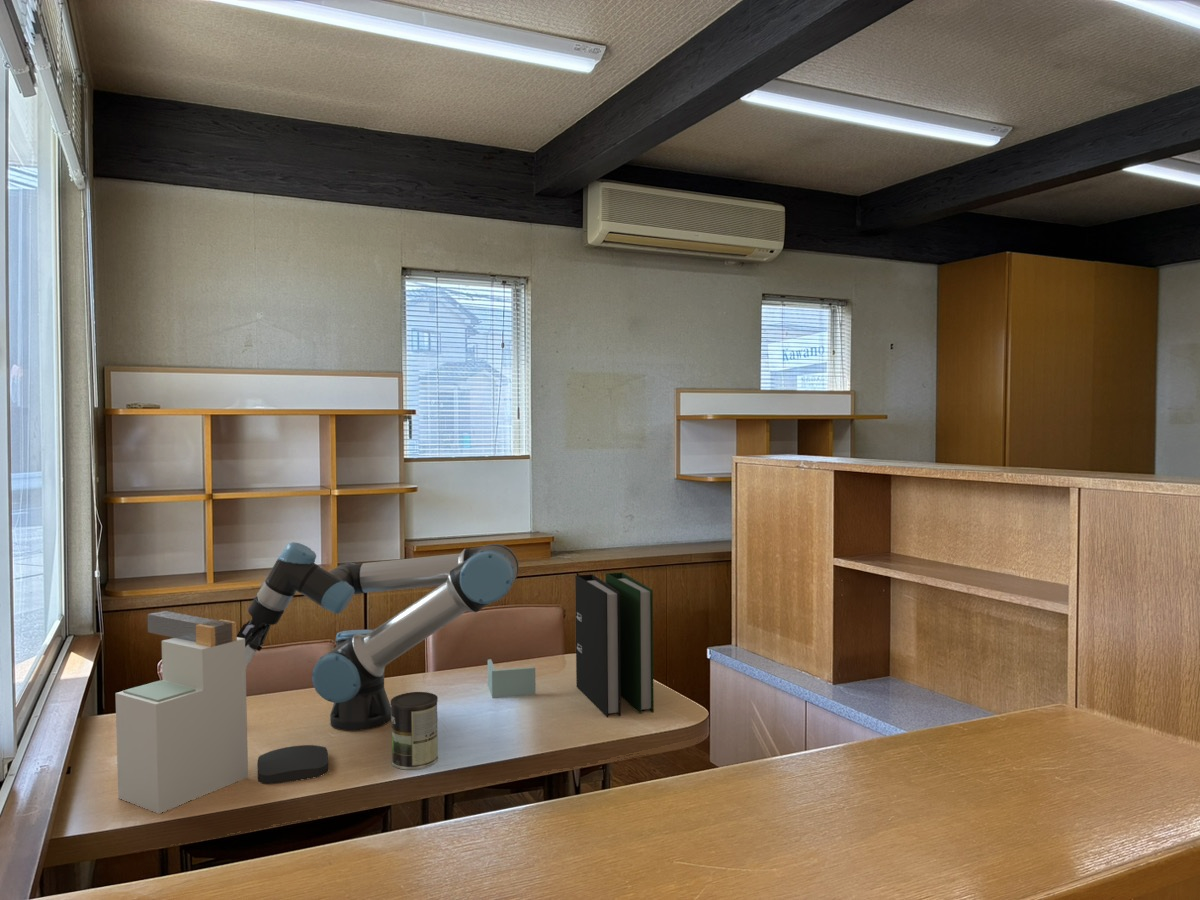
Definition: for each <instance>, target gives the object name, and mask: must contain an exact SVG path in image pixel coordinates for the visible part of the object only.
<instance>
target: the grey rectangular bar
mask: <svg viewBox="0 0 1200 900" xmlns="http://www.w3.org/2000/svg"><path fill="white" fill-rule="evenodd" d="M146 617H147V633H149V634H154V635H160V636H165V637H169V638H178V639H183V640H188V641H193V642H196V644H198V645H203V646H208V647H214V646H218V645H222V644H226V643H230V642H234V641H237V634H238V633H237V621H234V620H233V621H232V620H227V619H211V618H206V617H201V616H196V615H190V614H185V613H179V612H174V611H169V610H162V611H155V612H152V613H148V614H147V615H146Z"/></svg>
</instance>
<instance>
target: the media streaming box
mask: <svg viewBox="0 0 1200 900" xmlns="http://www.w3.org/2000/svg"><path fill="white" fill-rule="evenodd" d="M256 763H257V764H256V765H257V766H256V767H257V768H256V769H257V782H258V783H261V784H264V785H273V784H274V785H275V784H282V783H283V782H284V783H291V782H297V781H296V780H298V781H302V780H301V779H304V780H308V779H307V778H310V779H314V778H313V777H316V778H320V777H322V776H324V775H326V774H327V773H328V772H329V771H328V770H329V751H328V749H327V747H326V746H322V745H314V744H306V745H305V744H303V745H292V746H287V747H281V748H277V749H274V750H271V751H268V752H265V753H263V754H261V755H259V756H258V757H257V762H256ZM325 773H326V774H325ZM323 774H324V775H323ZM321 775H322V776H321ZM290 781H291V782H290Z"/></svg>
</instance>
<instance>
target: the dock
mask: <svg viewBox="0 0 1200 900" xmlns="http://www.w3.org/2000/svg"><path fill="white" fill-rule="evenodd" d="M161 667H162V669H161V671H162V672H161V673H162V674H161V675H162V680H160V679H159V680H156V681H153V682H149V683H147V684H146V683H145V684H142V685H138V686H134V687H131V688H128V689H125V690H124V689H123V690H122V691H119V692H115V694H114V695H115V722H116V723H115V725H116V726H115V728H116V757H117V758H116V760H117V761H116V763H117V797H118V799H120V800H121V799H122V801H124V802H126V801H127V803H129V802H130V803H129V804H132V805H134V804H135V805H134V806H138V807H139V806H140V807H139V808H142V807H143V808H142V809H144V808H145V810H147V809H148V810H147V811H150V812H152V811H153V813H155V812H156V814H157V813H158V814H157V815H160V814H163V813H165V812H168V811H170V810H172V809H175V808H177V807H179V805H180V806H181V804H182V805H184V803H185V804H187V803H189V802H188V801H190V800H192V801H194V800H196V798H197V799H199V798H202V797H204V796H206V795H208V793H209V794H211V793H213V791H214V792H216V791H218V789H219V790H221V789H223V788H226V787H228V786H231V785H233V784H236V783H238V782H240V781H242V780H243V781H244V780H245V779H248V778H249V761H248V760H249V759H248V758H249V756H248V755H249V754H248V748H249V747H248V717H247V716H248V715H247V714H248V712H247V711H248V710H247V677H246V676H247V674H246V673H247V667H246V661H245V639H244V638H239V637H237V641H234V642H230V643H226V644H222V645H218V646H214V647H208V646H203V645H198V644H196V642H193V641H188V640H183V639H178V638H173V637H171V638H168V639H163V640H161ZM237 781H238V782H237ZM235 782H236V783H235ZM225 786H226V787H225ZM205 794H206V795H205ZM203 795H204V796H203ZM201 796H202V797H201ZM198 797H199V798H198ZM193 799H194V800H193ZM186 802H187V803H186ZM190 802H191V801H190ZM167 810H168V811H167ZM162 812H163V813H162Z"/></svg>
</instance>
